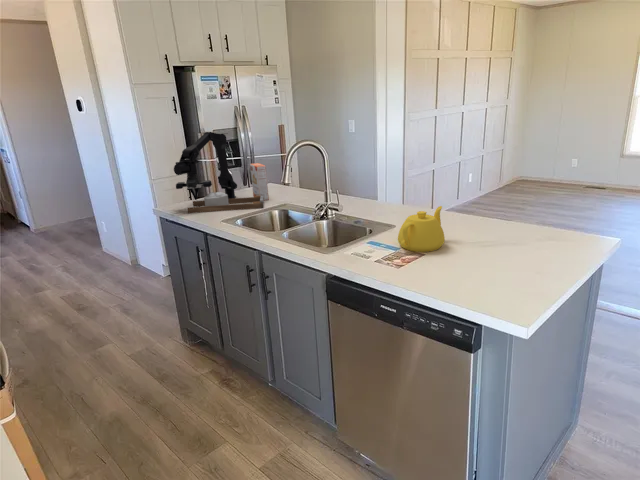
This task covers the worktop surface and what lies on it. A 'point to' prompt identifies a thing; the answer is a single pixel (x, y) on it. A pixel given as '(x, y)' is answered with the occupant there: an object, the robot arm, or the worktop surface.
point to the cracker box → (259, 180)
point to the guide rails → (252, 204)
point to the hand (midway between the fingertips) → (196, 199)
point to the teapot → (422, 232)
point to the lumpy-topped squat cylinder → (216, 199)
